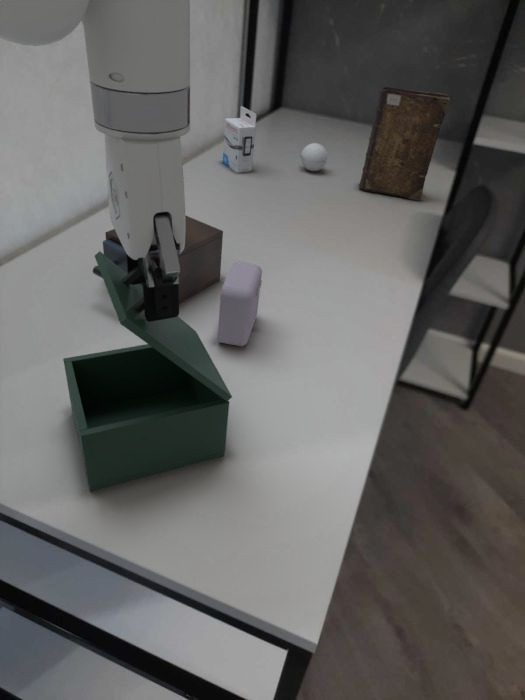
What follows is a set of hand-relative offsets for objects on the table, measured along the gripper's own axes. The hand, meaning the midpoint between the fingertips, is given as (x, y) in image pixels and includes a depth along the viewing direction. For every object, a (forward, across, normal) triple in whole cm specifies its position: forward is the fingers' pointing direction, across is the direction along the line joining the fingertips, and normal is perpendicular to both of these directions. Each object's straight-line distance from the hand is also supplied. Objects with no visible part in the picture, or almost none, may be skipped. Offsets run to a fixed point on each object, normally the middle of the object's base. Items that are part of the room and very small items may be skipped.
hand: (152, 297), depth 52 cm
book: (+22, -65, +80) cm, 106 cm away
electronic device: (+20, -17, +17) cm, 31 cm away
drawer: (+19, -32, +7) cm, 38 cm away
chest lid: (+4, 0, +1) cm, 4 cm away
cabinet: (+20, -34, +10) cm, 41 cm away
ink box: (+21, -88, +45) cm, 101 cm away
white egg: (+21, -82, +65) cm, 107 cm away
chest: (+19, 0, -2) cm, 20 cm away
